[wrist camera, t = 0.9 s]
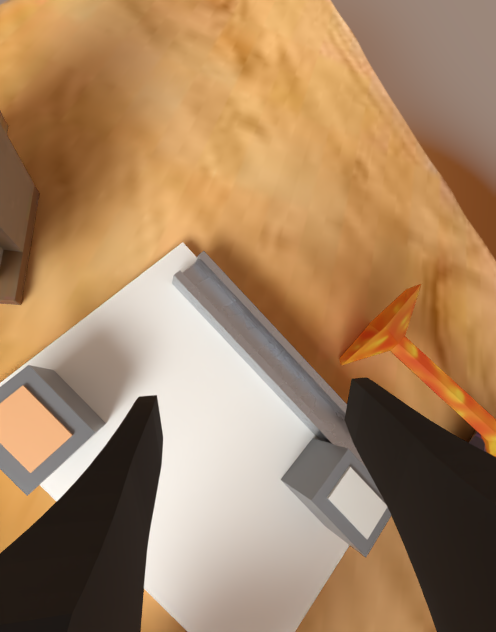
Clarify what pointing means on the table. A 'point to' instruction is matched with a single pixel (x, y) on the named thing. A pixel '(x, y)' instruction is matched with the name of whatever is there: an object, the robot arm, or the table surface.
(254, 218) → the table surface
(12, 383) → the block
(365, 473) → the mounted module
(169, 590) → the panel
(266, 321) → the rail
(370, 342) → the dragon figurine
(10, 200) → the toy
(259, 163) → the table surface
